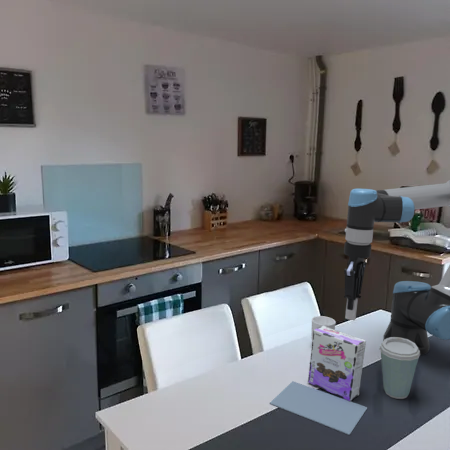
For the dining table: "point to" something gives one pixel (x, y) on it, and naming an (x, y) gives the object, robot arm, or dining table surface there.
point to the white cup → (322, 323)
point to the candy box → (336, 362)
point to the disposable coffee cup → (398, 365)
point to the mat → (320, 407)
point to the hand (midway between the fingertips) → (350, 318)
